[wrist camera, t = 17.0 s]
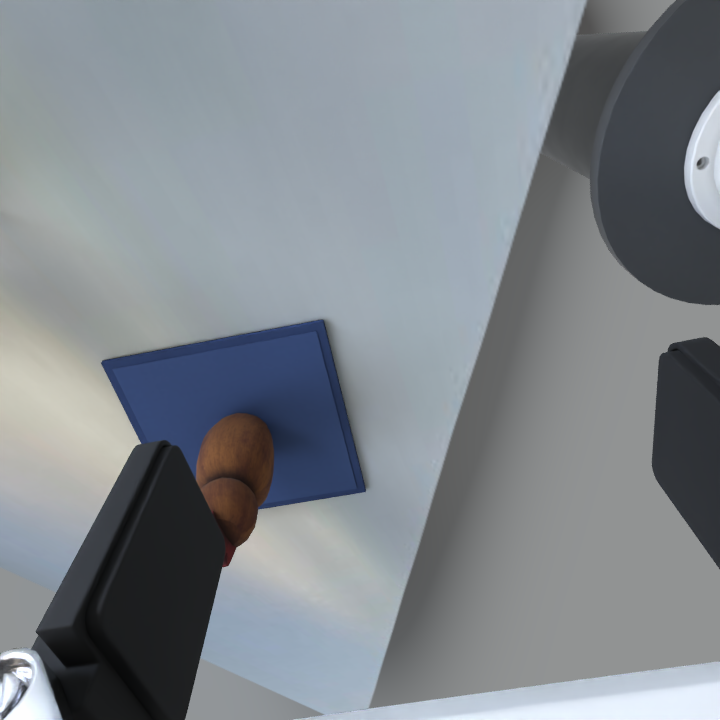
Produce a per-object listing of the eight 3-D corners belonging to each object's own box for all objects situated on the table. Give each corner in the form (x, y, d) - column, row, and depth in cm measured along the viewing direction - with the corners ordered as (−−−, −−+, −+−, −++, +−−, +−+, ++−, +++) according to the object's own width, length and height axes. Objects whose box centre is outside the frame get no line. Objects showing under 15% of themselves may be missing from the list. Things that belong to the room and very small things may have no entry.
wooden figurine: (207, 399, 45) (152, 543, 32) (277, 401, 45) (252, 544, 32) (213, 462, 48) (166, 616, 35) (279, 464, 48) (256, 616, 36)
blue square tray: (323, 319, 42) (323, 322, 42) (365, 489, 51) (365, 492, 51) (102, 360, 43) (100, 363, 43) (181, 519, 52) (180, 523, 52)
